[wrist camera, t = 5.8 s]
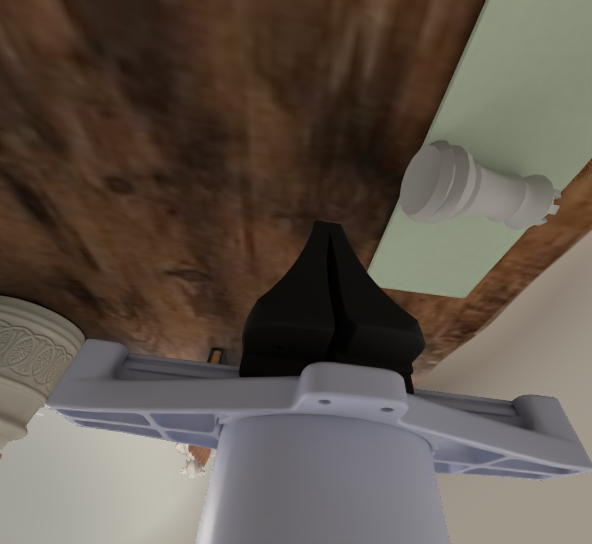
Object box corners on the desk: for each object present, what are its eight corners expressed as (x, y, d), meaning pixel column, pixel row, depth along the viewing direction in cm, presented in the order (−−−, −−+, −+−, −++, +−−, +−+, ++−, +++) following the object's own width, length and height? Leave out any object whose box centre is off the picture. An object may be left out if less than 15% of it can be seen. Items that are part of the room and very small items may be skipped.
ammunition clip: (211, 347, 38) (179, 450, 30) (224, 349, 38) (196, 452, 30) (220, 379, 46) (197, 467, 38) (231, 380, 46) (210, 468, 38)
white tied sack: (231, 422, 72) (219, 458, 61) (228, 448, 73) (216, 488, 62) (184, 416, 72) (164, 451, 61) (182, 443, 73) (162, 482, 62)
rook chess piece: (455, 177, 13) (598, 207, 14) (434, 119, 15) (558, 150, 16) (403, 236, 16) (520, 256, 18) (392, 183, 19) (496, 204, 20)
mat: (463, 295, 26) (464, 298, 26) (362, 281, 26) (362, 285, 26) (722, 3, 12) (732, 3, 12) (500, -35, 12) (504, -35, 11)
